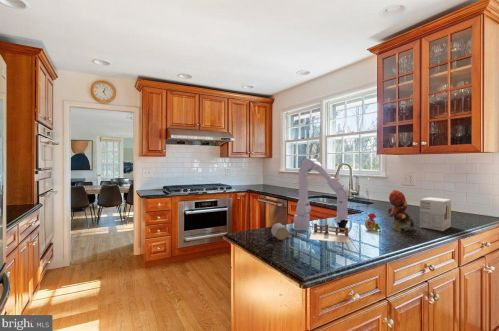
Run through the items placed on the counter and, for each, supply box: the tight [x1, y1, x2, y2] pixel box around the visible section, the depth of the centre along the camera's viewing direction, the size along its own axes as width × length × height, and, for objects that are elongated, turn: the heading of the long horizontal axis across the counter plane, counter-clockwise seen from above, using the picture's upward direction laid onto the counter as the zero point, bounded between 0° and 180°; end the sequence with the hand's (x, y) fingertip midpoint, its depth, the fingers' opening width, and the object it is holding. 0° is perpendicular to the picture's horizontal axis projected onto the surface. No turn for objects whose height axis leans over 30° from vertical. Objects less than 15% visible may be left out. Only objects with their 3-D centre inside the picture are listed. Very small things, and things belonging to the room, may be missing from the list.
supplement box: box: [419, 196, 452, 232], centre depth 172 cm, size 17×13×18 cm
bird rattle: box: [364, 212, 382, 232], centre depth 163 cm, size 6×11×9 cm
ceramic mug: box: [270, 222, 293, 241], centre depth 147 cm, size 11×8×8 cm
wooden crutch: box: [328, 225, 349, 237], centre depth 152 cm, size 11×2×4 cm, turn 53°
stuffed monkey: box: [387, 189, 421, 233], centre depth 167 cm, size 15×17×25 cm
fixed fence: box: [313, 223, 329, 233], centre depth 157 cm, size 8×2×5 cm, turn 72°
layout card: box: [309, 228, 350, 243], centre depth 151 cm, size 20×22×1 cm
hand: (342, 232), depth 152 cm, fingers closed
